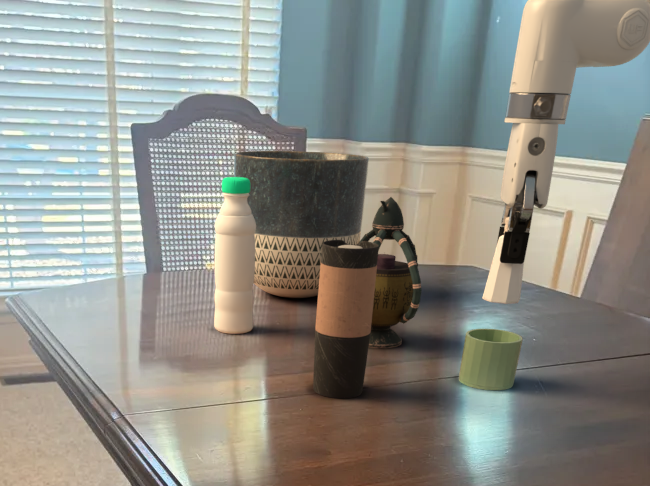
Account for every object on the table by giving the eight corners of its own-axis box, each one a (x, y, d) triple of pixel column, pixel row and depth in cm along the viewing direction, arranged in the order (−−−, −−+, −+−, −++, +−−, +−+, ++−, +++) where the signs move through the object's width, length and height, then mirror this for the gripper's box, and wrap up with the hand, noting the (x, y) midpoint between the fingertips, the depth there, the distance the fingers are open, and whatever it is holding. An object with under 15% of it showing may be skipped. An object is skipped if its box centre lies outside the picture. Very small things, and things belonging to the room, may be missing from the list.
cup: (508, 375, 119) (517, 330, 116) (517, 392, 112) (526, 344, 109) (456, 372, 120) (463, 327, 117) (461, 388, 113) (469, 341, 110)
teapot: (346, 354, 127) (360, 202, 116) (333, 317, 149) (343, 186, 137) (419, 356, 127) (440, 204, 116) (395, 319, 149) (411, 187, 137)
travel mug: (333, 402, 107) (346, 250, 97) (300, 387, 112) (309, 241, 102) (375, 393, 110) (392, 246, 100) (341, 379, 116) (353, 237, 106)
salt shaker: (477, 295, 113) (491, 214, 108) (515, 296, 113) (530, 215, 108) (486, 303, 108) (501, 219, 103) (525, 304, 108) (542, 220, 103)
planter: (213, 285, 172) (214, 150, 158) (319, 279, 181) (328, 151, 168) (262, 313, 151) (268, 159, 137) (379, 304, 160) (395, 159, 147)
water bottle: (206, 328, 139) (206, 176, 127) (235, 322, 144) (238, 175, 131) (231, 337, 135) (234, 180, 123) (261, 330, 139) (266, 178, 127)
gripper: (581, 112, 91) (547, 272, 100) (553, 111, 106) (526, 251, 115) (516, 110, 92) (489, 269, 101) (497, 109, 106) (474, 249, 116)
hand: (509, 258), depth 108 cm, fingers closed on salt shaker, 4 cm apart
